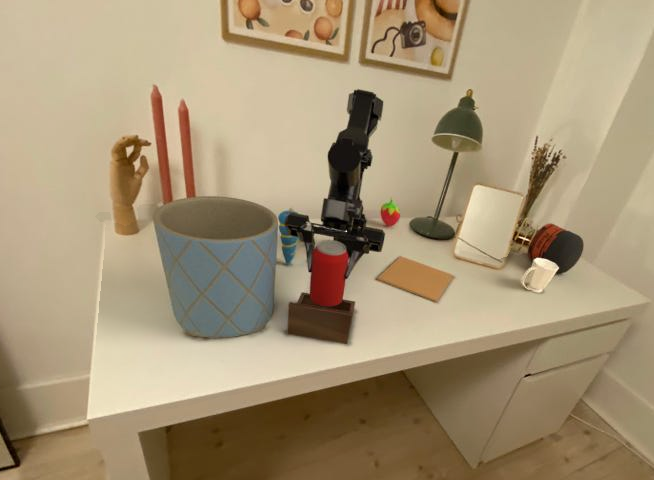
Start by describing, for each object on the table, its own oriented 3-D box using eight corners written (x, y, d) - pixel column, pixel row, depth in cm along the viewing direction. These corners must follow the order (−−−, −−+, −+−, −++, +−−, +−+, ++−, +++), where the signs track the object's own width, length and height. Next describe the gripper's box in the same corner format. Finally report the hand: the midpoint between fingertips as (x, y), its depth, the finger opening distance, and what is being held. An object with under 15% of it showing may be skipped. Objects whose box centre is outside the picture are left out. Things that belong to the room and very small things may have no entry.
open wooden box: (301, 301, 81) (302, 273, 78) (353, 310, 82) (358, 283, 78) (287, 334, 72) (288, 304, 68) (347, 344, 73) (351, 315, 69)
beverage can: (348, 297, 78) (355, 245, 71) (334, 313, 73) (340, 258, 66) (318, 287, 79) (323, 234, 72) (302, 302, 74) (306, 247, 67)
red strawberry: (385, 231, 121) (391, 201, 116) (374, 222, 126) (379, 193, 121) (400, 231, 124) (406, 201, 119) (389, 222, 129) (395, 193, 124)
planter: (173, 289, 77) (158, 193, 66) (269, 285, 84) (270, 198, 73) (167, 349, 63) (145, 240, 52) (283, 339, 70) (286, 241, 59)
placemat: (377, 279, 95) (377, 277, 95) (400, 258, 108) (400, 256, 108) (436, 302, 91) (436, 300, 91) (452, 276, 104) (453, 274, 104)
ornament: (273, 264, 92) (274, 205, 84) (285, 257, 96) (287, 200, 88) (291, 271, 91) (293, 212, 83) (302, 263, 95) (306, 206, 87)
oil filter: (544, 257, 129) (561, 221, 121) (575, 274, 121) (595, 237, 114) (521, 261, 122) (537, 224, 114) (552, 280, 114) (572, 241, 107)
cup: (552, 294, 106) (564, 269, 102) (526, 297, 102) (538, 271, 97) (534, 281, 111) (546, 257, 107) (509, 283, 107) (520, 258, 102)
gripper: (288, 168, 65) (269, 252, 62) (393, 188, 66) (379, 272, 64) (297, 197, 76) (281, 270, 73) (387, 214, 77) (375, 287, 75)
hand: (327, 275), depth 71 cm, fingers closed on beverage can, 7 cm apart
